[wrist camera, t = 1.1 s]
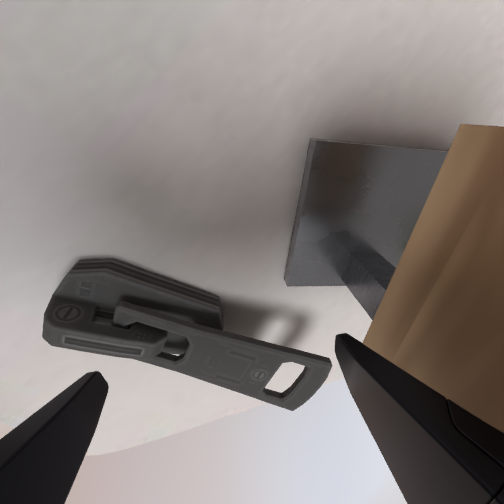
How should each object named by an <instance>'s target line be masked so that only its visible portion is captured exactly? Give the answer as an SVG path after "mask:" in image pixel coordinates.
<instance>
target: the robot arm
mask: <svg viewBox="0 0 504 504" xmlns="http://www.w3.org/2000/svg"><path fill="white" fill-rule="evenodd" d="M335 354H336V357H337V359H338V362H339V365H340V367H341V370H342V372H343V375H344V378H345V380H346V383H347V385H348V388H349V390H350V393H351V395H352V397H353V399H354V401H355V402H356V405H357V407H358V408H359V411H360V412H361V414H362V416H363V418H364V420H365V422H366V424H367V426H368V428H369V430H370V432H371V434H372V436H373V437H374V439H375V441H376V443H377V445H378V447H379V449H380V451H381V453H382V455H383V457H384V459H385V461H386V463H387V465H388V467H389V468H390V470H391V472H392V474H393V476H394V478H395V480H396V482H397V484H398V486H399V488H400V490H401V491H402V494H403V495H404V498H405V500H406V502H407V503H408V504H504V433H503V432H501V431H500V430H498V429H496V428H495V427H493V426H491V425H489V424H488V423H486V422H484V421H483V420H481V419H480V418H478V417H476V416H475V415H473V414H472V413H470V412H468V411H467V410H465V409H464V408H462V407H460V406H459V405H457V404H456V403H454V402H453V401H451V400H450V399H446V398H445V397H444V396H443V395H441V394H440V393H438V392H437V391H435V390H434V389H432V388H430V387H429V386H427V385H426V384H424V383H423V382H421V381H420V380H418V379H417V378H415V377H414V376H412V375H410V374H409V373H407V372H406V371H404V370H403V369H401V368H400V367H398V366H397V365H395V364H393V363H392V362H390V361H389V360H387V359H386V358H384V357H383V356H381V355H380V354H378V353H376V352H375V351H373V350H372V349H370V348H369V347H367V346H366V345H364V344H363V343H361V342H360V341H358V340H356V339H355V338H353V337H352V336H350V335H349V334H347V333H344V334H338V335H336V339H335ZM107 393H108V383H107V382H106V380H105V379H104V377H103V376H102V374H101V373H100V372H98V371H95V372H89V373H86V374H85V375H84V376H82V377H81V378H80V379H78V380H77V381H76V382H74V383H73V384H72V385H71V386H69V387H68V388H67V389H65V390H64V391H63V392H61V393H60V394H59V395H58V396H56V397H55V398H54V399H52V400H51V401H50V402H48V403H47V404H46V405H44V406H43V407H42V408H41V409H39V410H38V411H37V412H35V413H34V414H33V415H31V416H30V417H29V418H28V419H26V420H25V421H24V422H22V423H21V424H20V425H18V426H17V427H16V428H15V429H13V430H12V431H11V432H9V433H8V434H7V435H5V436H4V437H3V438H1V439H0V504H64V503H65V501H66V498H67V497H68V494H69V492H70V489H71V487H72V485H73V482H74V480H75V478H76V475H77V473H78V471H79V468H80V466H81V464H82V461H83V459H84V457H85V454H86V452H87V450H88V447H89V445H90V443H91V440H92V438H93V435H94V433H95V430H96V427H97V424H98V421H99V418H100V415H101V412H102V409H103V406H104V402H105V399H106V396H107Z"/></svg>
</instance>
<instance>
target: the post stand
mask: <svg viewBox="0 0 504 504" xmlns="http://www.w3.org/2000/svg"><path fill="white" fill-rule="evenodd" d="M447 154H448V151H444V150H432V149H421V148H409V147H398V146H387V145H375V144H364V143H353V142H341V141H330V140H318V139H310V143H309V148H308V154H307V159H306V165H305V170H304V175H303V181H302V186H301V191H300V197H299V202H298V208H297V213H296V218H295V224H294V229H293V234H292V240H291V245H290V251H289V256H288V261H287V267H286V272H285V277H284V280H285V282H286V285H287V286H347V287H348V288H349V290H350V291H351V292H352V294H353V295H354V296H355V298H356V299H357V300H358V302H359V303H360V304H361V306H362V307H363V308H364V310H365V311H366V312H367V313H368V315H369V316H370V317H371V319H372V320H373V319H374V317H375V314H376V312H377V310H378V308H379V305H380V303H381V301H382V299H383V296H384V294H385V292H386V290H387V288H388V285H389V283H390V281H391V279H392V276H393V274H394V272H395V270H396V267H397V265H398V263H399V261H400V259H401V256H402V254H403V252H404V250H405V247H406V245H407V243H408V241H409V238H410V236H411V234H412V232H413V230H414V227H415V225H416V223H417V221H418V218H419V216H420V214H421V212H422V209H423V207H424V205H425V203H426V201H427V198H428V196H429V194H430V192H431V189H432V187H433V185H434V183H435V180H436V178H437V176H438V174H439V172H440V169H441V167H442V165H443V163H444V160H445V158H446V156H447Z"/></svg>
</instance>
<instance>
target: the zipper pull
mask: <svg viewBox="0 0 504 504" xmlns="http://www.w3.org/2000/svg"><path fill="white" fill-rule="evenodd" d="M223 330H224V329H223V313H222V308H221V303H220V298H219V296H217V295H214V294H212V293H209V292H206V291H203V290H200V289H198V288H195V287H192V286H189V285H186V284H183V283H180V282H178V281H175V280H172V279H169V278H166V277H163V276H161V275H158V274H155V273H152V272H149V271H146V270H144V269H141V268H138V267H136V266H133V265H130V264H128V263H125V262H122V261H119V260H117V259H94V260H80V261H79V262H78V263H77V264H76V265H75V266H74V267H73V268H72V269H71V270H70V272H69V273H68V274H67V275H66V276H65V278H64V279H63V281H62V282H61V284H60V285H59V286H58V288H57V289H56V291H55V292H54V294H53V295H52V298H51V300H50V302H49V304H48V307H47V309H46V311H45V313H44V322H43V334H42V336H43V338H44V339H45V340H46V341H47V342H48V343H49V344H50V345H51V346H56V347H61V348H67V349H72V350H78V351H84V352H90V353H96V354H102V355H109V356H115V357H122V358H131V359H135V360H139V361H142V362H146V363H149V364H152V365H156V366H159V367H163V368H166V369H170V370H173V371H177V372H180V373H183V374H186V375H189V376H191V377H194V378H197V379H200V380H203V381H206V382H209V383H212V384H215V385H218V386H221V387H224V388H227V389H230V390H233V391H236V392H239V393H242V394H245V395H247V396H250V397H253V398H256V399H259V400H262V401H264V402H267V403H270V404H273V405H277V406H279V407H282V408H285V409H288V410H291V411H293V410H295V409H297V408H298V407H300V406H301V405H303V404H304V403H305V402H306V401H307V400H308V399H310V398H311V397H312V396H313V395H314V394H315V392H316V391H317V390H318V389H319V388H320V387H321V386H322V384H323V383H324V381H325V380H326V378H327V377H328V374H329V372H330V370H331V367H332V363H331V360H330V359H329V358H327V357H323V356H319V355H316V354H312V353H308V352H304V351H300V350H297V349H292V348H288V347H284V346H280V345H276V344H272V343H268V342H264V341H260V340H257V339H253V338H249V337H245V336H241V335H237V334H233V333H229V332H226V331H223ZM172 354H180V355H179V356H176V355H172ZM285 362H295V363H298V364H301V365H304V366H305V368H304V370H303V372H302V373H301V374H300V375H299V377H298V378H297V379H296V380H295V382H294V383H293V384H292V385H291V387H289V388H288V389H287V390H285V391H284V392H283V393H279V392H276V391H272V390H269V389H265V386H266V385H267V383H268V382H269V381H270V379H271V378H272V377H273V375H274V374H275V372H276V371H277V370H278V368H279V367H280V366H281V364H282V363H285Z"/></svg>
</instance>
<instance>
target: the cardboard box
mask: <svg viewBox="0 0 504 504" xmlns="http://www.w3.org/2000/svg"><path fill="white" fill-rule="evenodd" d="M363 344H364V345H366V346H367V347H369V348H370V349H372V350H373V351H375V352H376V353H378V354H380V355H381V356H383V357H384V358H386V359H387V360H389V361H390V362H392V363H393V364H395V365H397V366H398V367H400V368H401V369H403V370H404V371H406V372H407V373H409V374H410V375H412V376H414V377H415V378H417V379H418V380H420V381H421V382H423V383H424V384H426V385H427V386H429V387H430V388H432V389H434V390H435V391H437V392H438V393H440V394H441V395H443V396H444V397H445V398H446V399H450V400H451V401H453V402H454V403H456V404H457V405H459V406H460V407H462V408H464V409H465V410H467V411H468V412H470V413H472V414H473V415H475V416H476V417H478V418H480V419H481V420H483V421H484V422H486V423H488V424H489V425H491V426H493V427H495V428H496V429H498V430H500V431H501V432H503V433H504V127H499V126H484V125H468V124H461V125H460V127H459V129H458V131H457V134H456V136H455V138H454V140H453V143H452V145H451V147H450V149H449V151H448V154H447V156H446V158H445V160H444V163H443V165H442V167H441V169H440V172H439V174H438V176H437V178H436V180H435V183H434V185H433V187H432V189H431V192H430V194H429V196H428V198H427V201H426V203H425V205H424V207H423V209H422V212H421V214H420V216H419V218H418V221H417V223H416V225H415V227H414V230H413V232H412V234H411V236H410V238H409V241H408V243H407V245H406V247H405V250H404V252H403V254H402V256H401V259H400V261H399V263H398V265H397V267H396V270H395V272H394V274H393V276H392V279H391V281H390V283H389V285H388V288H387V290H386V292H385V294H384V296H383V299H382V301H381V303H380V305H379V308H378V310H377V312H376V314H375V317H374V319H373V321H372V323H371V325H370V328H369V330H368V332H367V334H366V337H365V339H364V341H363Z"/></svg>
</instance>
